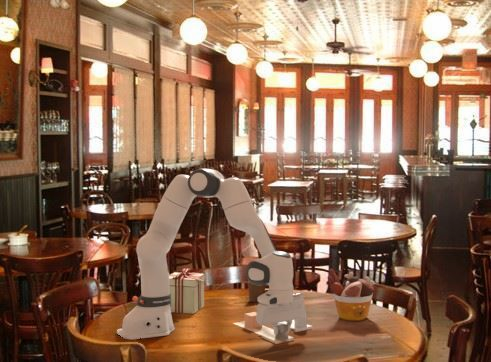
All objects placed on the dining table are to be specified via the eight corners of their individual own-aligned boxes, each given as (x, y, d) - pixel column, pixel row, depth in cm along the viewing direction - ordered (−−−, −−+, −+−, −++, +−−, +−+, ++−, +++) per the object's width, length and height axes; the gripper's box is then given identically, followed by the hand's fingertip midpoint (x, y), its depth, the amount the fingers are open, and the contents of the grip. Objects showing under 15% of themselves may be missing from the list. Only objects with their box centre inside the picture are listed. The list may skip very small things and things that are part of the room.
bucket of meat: (380, 314, 281) (379, 267, 280) (371, 324, 266) (370, 275, 265) (333, 310, 289) (333, 265, 288) (322, 320, 274) (322, 272, 273)
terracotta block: (251, 329, 258) (251, 316, 258) (244, 326, 262) (244, 313, 262) (262, 327, 261) (262, 314, 260) (255, 324, 265) (255, 311, 265)
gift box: (204, 314, 287) (203, 274, 286) (162, 313, 290) (161, 274, 289) (212, 304, 304) (211, 267, 303) (172, 304, 307) (171, 266, 306)
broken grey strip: (295, 332, 257) (295, 316, 256) (252, 316, 282) (252, 301, 282) (312, 329, 261) (311, 313, 261) (268, 313, 286) (268, 298, 286)
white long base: (276, 344, 242) (275, 327, 241) (232, 325, 267) (232, 310, 267) (293, 340, 246) (293, 324, 246) (249, 322, 271) (249, 308, 271)
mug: (276, 300, 310) (276, 280, 309) (270, 304, 303) (270, 283, 302) (252, 298, 314) (252, 278, 314) (246, 302, 308) (245, 281, 307)
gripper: (298, 290, 253) (299, 326, 254) (253, 298, 242) (254, 335, 243) (309, 293, 248) (309, 330, 248) (263, 301, 237) (263, 340, 237)
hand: (281, 333), depth 245 cm, fingers open, 3 cm apart
